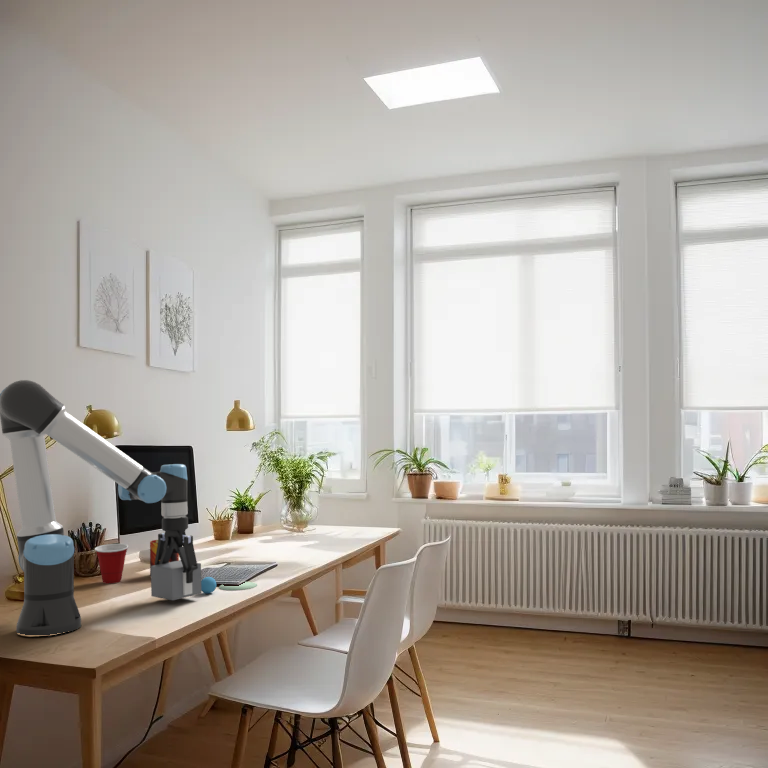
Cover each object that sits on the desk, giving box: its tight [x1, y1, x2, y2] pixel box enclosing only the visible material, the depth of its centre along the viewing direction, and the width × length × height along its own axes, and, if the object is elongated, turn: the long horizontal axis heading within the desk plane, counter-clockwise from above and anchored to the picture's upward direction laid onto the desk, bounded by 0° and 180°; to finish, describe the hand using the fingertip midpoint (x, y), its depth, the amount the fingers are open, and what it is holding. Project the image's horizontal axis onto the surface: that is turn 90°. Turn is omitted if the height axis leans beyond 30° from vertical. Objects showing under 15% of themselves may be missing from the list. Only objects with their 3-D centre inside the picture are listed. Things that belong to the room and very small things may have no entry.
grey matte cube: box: [150, 559, 202, 601], centre depth 221 cm, size 10×10×9 cm
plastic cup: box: [94, 543, 129, 584], centre depth 252 cm, size 11×11×12 cm
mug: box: [149, 539, 180, 578], centre depth 262 cm, size 10×14×12 cm
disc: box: [218, 581, 258, 591], centre depth 240 cm, size 12×12×1 cm
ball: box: [201, 576, 217, 595], centre depth 231 cm, size 5×5×5 cm
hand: (176, 592), depth 221 cm, fingers closed on grey matte cube, 10 cm apart
